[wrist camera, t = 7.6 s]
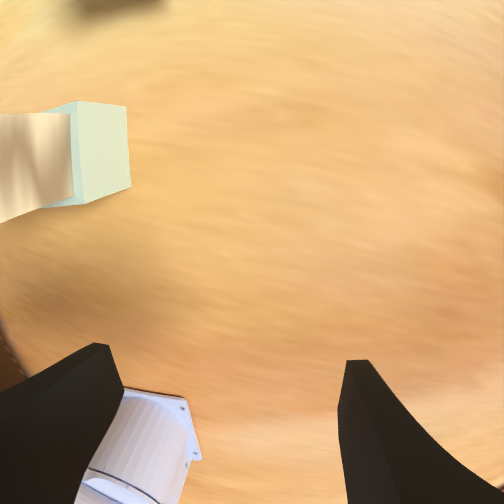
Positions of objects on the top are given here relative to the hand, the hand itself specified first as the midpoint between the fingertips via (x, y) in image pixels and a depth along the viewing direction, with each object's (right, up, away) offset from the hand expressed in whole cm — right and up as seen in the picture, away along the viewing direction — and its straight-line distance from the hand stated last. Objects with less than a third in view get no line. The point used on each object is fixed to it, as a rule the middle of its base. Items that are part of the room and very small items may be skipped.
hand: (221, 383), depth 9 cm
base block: (-9, +10, +9) cm, 16 cm away
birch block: (-10, +8, +4) cm, 13 cm away
